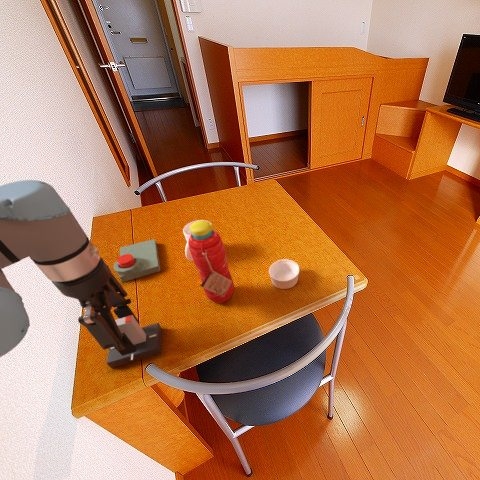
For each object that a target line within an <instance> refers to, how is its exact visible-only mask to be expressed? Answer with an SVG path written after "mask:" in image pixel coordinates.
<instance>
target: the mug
mask: <svg viewBox="0 0 480 480" xmlns="http://www.w3.org/2000/svg"><path fill="white" fill-rule="evenodd" d="M197 221H207V220H205V219H198V220H193V221H191V222H188V223H187V224H186V225H184V227H183V229H182V233H183V235H184V238H185V241H186V244H185V247H184V254H185V257H186V259H187V261H188V262H194V260H193V258H192V255H191V252H190V250H189V245H188V241H189V238H190V235H191V230H190V227H191V225H192V224H193V223H195V222H197ZM208 222H209V223H210V225H212V226H213V224H212V223H211V222H210V221H208Z"/></svg>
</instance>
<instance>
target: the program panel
mask: <svg viewBox="0 0 480 480" xmlns="http://www.w3.org/2000/svg"><path fill="white" fill-rule="evenodd" d="M141 328H142V329H143V331H144V332H145V334H146V341H145V342H142V343H138V344H135V345H134V346H135V347H136V348H137V350H136V352H133V353H130V354H126V355H123V356H122V355H121V354H120V353H119V352H118V351H117V350H116V349H115V348H114V347H112V348H109V349H108V352H107V353H108V354H107V359H106V364H107V366H109V367H110V368H111V369H114V368H117V367H121V366H125V365H127V364H131V363H134V362H137V361H140V360H144V359H147V358H150V357H154V356H156V355H159V354H162V339H163V338H162V337H163V336H162V335H163V334H162V333H163V327H162V326H161V325H160V323H159V322H157V323H153V324H149V325H146V326H142V327H141Z"/></svg>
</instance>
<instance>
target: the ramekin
mask: <svg viewBox="0 0 480 480" xmlns="http://www.w3.org/2000/svg"><path fill="white" fill-rule="evenodd" d="M268 273H269V276H270V280H271V283H272V284H273V286H274V287H276V288H277V289H280V290H286V289H287V290H288V289H291V288H293V287H294V286H296V284H297V283H298V282H299V276H300V275H299V274H300V266H299V264H298V263H297V262H296V261H294V260H292V259H287V258H286V259H285V258H282V259H279V260H276V261H274V262H273V263H271V265H270V266H269V268H268Z"/></svg>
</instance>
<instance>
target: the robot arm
mask: <svg viewBox="0 0 480 480" xmlns="http://www.w3.org/2000/svg"><path fill="white" fill-rule="evenodd" d="M99 251H100V250H99V248H98V247H97V246H94V245H93V242H91V240H90V239H89V237H88V235H87V234H86V232H85V231H84V229H83V228H82V226H81V225H80V223H79V221H78V220H77V218H76V217H75V215H74V214H73V212H72V211H71V208H70V206H68V205H67V204H66V203H65V201H64V200H63V198H62V197H61V195H60V194H59V193H58V192H57V190H56V189H55V187H54V186H53V185H52V184H50V183H47V182H45V181H41V180H37V179H36V180H35V179H24V180H18V181H12V182H8V183H5V184H1V185H0V358H2V357H4V356H6V355H7V354H8V353H9V352H12V350H13V349H15V348H16V347H17V346H18V345H19V344H20V343H21V342H22V341H23V340H24V338H25V337H26V335H27V333H28V332H29V327H30V326H31V323H30V317H29V315H28V312H27V310H26V308H25V303H24V301H23V297H22V295H20V294H19V293H18V292H17V291H16V290H15V289H14V287H13V286H12V284H11V283H10V281H9V280H8V279H7V276H6V274H5V273H4V271H3V269H5V268H7V267H9V266H12V265H14V264H16V263H18V262H21V261H22V260H24V259H27V258H30V260H31V261H32V262H33V263H34V264H35V265H36V266H37V268H38V269H39V270H40V271H41V272H42V274H44V276H45V277H46V278H47V280H49V281H51V283H52V284H53V285H54V286H55V288H56V289H57V290H58V291H59V292H60V293H61V294H62V296H65V297H68V298H72V299H75V300H77V301H78V302H79V304H80V307H81V309H84V313H83V315H81V316H79V317H78V319H77V321H78V324H80V325H82V326H83V327H85V328H86V330H87V331H88V332H89V333H90V334H91V336H92V337H93V339H94V340H95V341H96V342H97V343H98V345H99V346H100V347H101V348H102V350H103V351H106V350H109V348H112V347H114V348H115V349H116V350H117V351H118V352H119V353H120V354H121V355H122V356H123V355H126V354H130V353H133V352H136V350H137V348H136V347H135V346H134V344H133V343H132V342H131V341H130V339H129V338H128V337H127V336H126V334H125V333H121V332H120V330H119V328H118V325H117V323H116V321H115V320H116V319H115V317H114V315H115V316H116V317H117V319H120V318H124V317H126V316H130V315H133V317H134V318H135V319H136V321H137V322H138V324H139V325H140V321H139V319H138V318H137V316H136V314H135V313H134V311H133V310H132V309H131V307H130V306H129V305H130V304H132V299H131V298H127V297H128V293H127V291H126V290H125V288H124V287H123V286H122V284H121V283H120V282H119V280H118V279H117V278H116V277H115V275H114V274H113V273H112V270H111V268H110V266H109V265H108V264H107V263H106V261H105V260H104V259H103V257H101V255H100V254H99ZM112 309H113V312H112V311H111V310H112ZM113 313H114V315H113Z"/></svg>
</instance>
